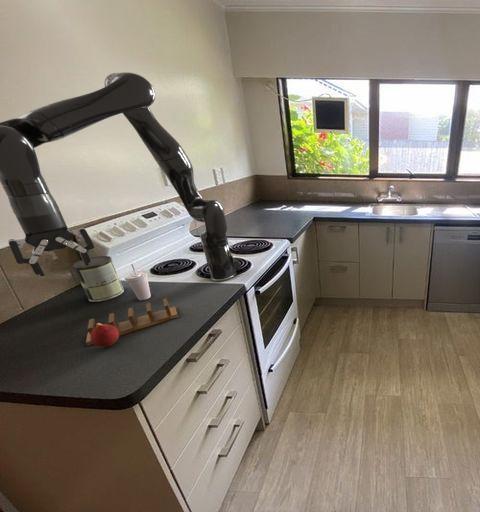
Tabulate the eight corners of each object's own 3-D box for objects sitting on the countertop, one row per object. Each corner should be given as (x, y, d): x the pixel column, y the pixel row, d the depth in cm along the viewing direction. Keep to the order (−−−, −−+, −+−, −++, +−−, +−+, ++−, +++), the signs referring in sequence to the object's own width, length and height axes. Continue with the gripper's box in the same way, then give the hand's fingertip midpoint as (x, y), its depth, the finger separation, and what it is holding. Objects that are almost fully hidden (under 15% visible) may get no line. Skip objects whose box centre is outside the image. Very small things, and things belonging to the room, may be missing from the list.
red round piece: (122, 336, 86) (112, 314, 83) (124, 346, 82) (113, 323, 79) (95, 346, 82) (84, 323, 79) (96, 356, 79) (84, 332, 76)
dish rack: (175, 309, 100) (171, 296, 98) (178, 317, 96) (173, 303, 94) (89, 335, 87) (82, 321, 85) (87, 345, 83) (80, 330, 81)
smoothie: (136, 304, 103) (122, 269, 98) (131, 298, 107) (117, 264, 101) (157, 296, 108) (145, 262, 102) (152, 291, 111) (139, 258, 106)
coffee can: (80, 302, 105) (63, 267, 99) (106, 288, 114) (92, 255, 109) (107, 302, 104) (91, 267, 99) (131, 288, 114) (118, 255, 108)
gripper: (-7, 220, 65) (27, 283, 72) (79, 208, 76) (103, 264, 82) (-8, 215, 70) (25, 275, 76) (74, 205, 80) (97, 258, 86)
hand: (65, 269), depth 79 cm, fingers open, 8 cm apart
